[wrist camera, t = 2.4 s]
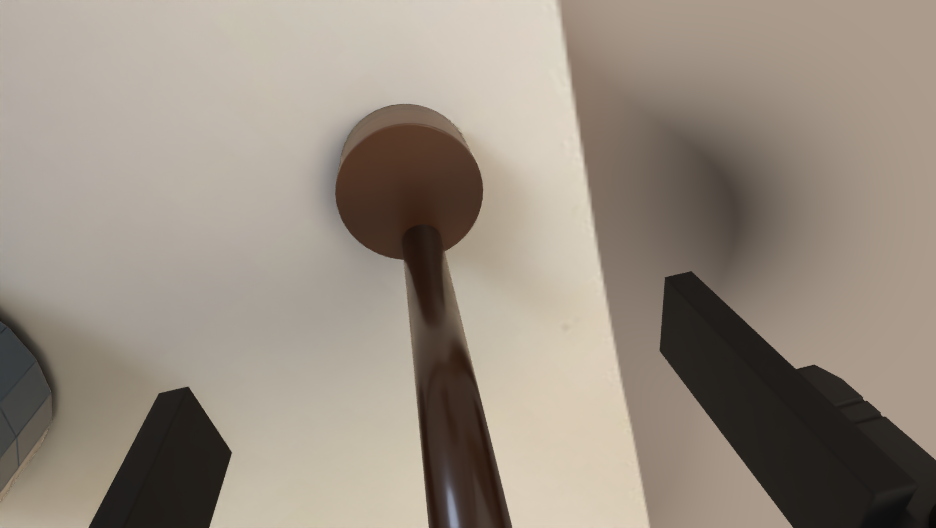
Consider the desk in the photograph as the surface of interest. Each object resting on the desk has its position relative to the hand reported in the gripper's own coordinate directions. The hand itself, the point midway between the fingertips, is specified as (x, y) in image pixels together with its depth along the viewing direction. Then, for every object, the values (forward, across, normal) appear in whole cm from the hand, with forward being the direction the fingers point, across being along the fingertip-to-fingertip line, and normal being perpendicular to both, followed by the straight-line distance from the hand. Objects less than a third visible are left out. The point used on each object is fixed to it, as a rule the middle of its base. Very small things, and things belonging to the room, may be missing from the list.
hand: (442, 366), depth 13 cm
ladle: (+10, 0, +2) cm, 10 cm away
